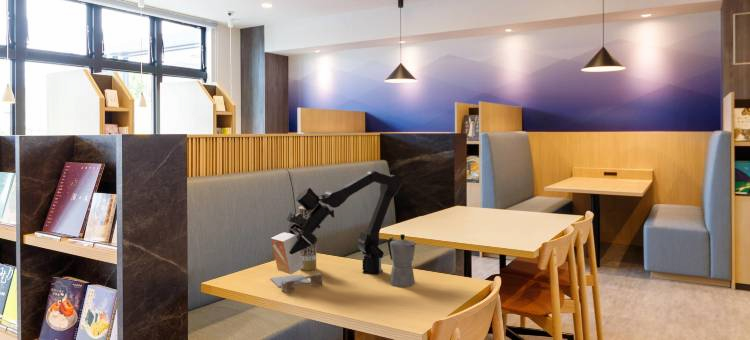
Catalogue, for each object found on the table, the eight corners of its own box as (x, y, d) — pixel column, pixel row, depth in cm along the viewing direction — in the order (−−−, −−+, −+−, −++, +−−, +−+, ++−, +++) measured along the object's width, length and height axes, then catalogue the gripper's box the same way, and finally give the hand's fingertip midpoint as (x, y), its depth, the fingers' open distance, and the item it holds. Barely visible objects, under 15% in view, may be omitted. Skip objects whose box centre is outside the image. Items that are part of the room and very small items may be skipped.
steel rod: (320, 275, 195) (320, 272, 195) (321, 275, 194) (321, 273, 194) (282, 283, 184) (282, 281, 184) (283, 284, 183) (283, 281, 183)
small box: (277, 270, 199) (269, 238, 196) (291, 263, 203) (283, 231, 200) (290, 274, 193) (282, 241, 190) (304, 267, 197) (297, 234, 194)
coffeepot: (423, 285, 192) (424, 236, 191) (402, 290, 187) (402, 238, 186) (398, 276, 205) (398, 229, 204) (377, 279, 200) (378, 231, 199)
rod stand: (317, 283, 195) (317, 273, 195) (322, 284, 193) (322, 275, 193) (282, 291, 185) (281, 281, 185) (286, 293, 183) (286, 283, 183)
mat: (301, 275, 206) (301, 274, 206) (311, 283, 195) (311, 282, 195) (270, 278, 201) (270, 277, 201) (278, 287, 190) (278, 286, 190)
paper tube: (297, 267, 217) (296, 206, 215) (313, 266, 220) (312, 205, 218) (302, 271, 211) (301, 208, 209) (318, 270, 214) (318, 207, 212)
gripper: (293, 201, 206) (265, 232, 202) (307, 207, 189) (277, 241, 185) (313, 220, 210) (286, 251, 206) (329, 228, 193) (300, 261, 189)
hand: (286, 251), depth 196 cm, fingers closed on small box, 9 cm apart
